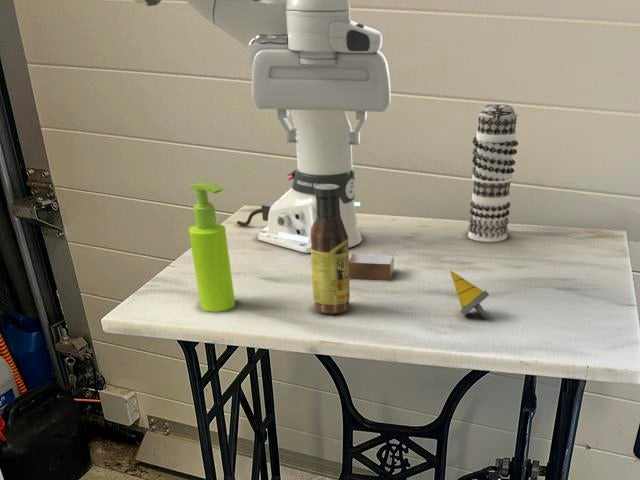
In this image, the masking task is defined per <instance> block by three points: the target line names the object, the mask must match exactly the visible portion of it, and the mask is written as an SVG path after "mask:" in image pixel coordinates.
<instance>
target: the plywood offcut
mask: <svg viewBox="0 0 640 480" xmlns="http://www.w3.org/2000/svg"><path fill="white" fill-rule="evenodd" d="M394 263H395V256H394V255H388V254H387V255H385V254H365V253H364V254H359V253H352V255H351V256H350V257H349V279H357V280H360V279H361V280H378V281H379V280H380V281H391V279H392V277H393V275H394V270H395V269H394V265H395V264H394Z"/></svg>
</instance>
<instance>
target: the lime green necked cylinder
mask: <svg viewBox="0 0 640 480" xmlns="http://www.w3.org/2000/svg"><path fill="white" fill-rule="evenodd" d="M189 186H190V189H192V190H195V192H196V193H195V194H196V201H197V202H196V203H195V204H194V205H193V207H192V208H193V210H192V211H193V215H194V222H195V225H192V226H190V227H189V228H188V235H189V241H190V246H191V254H192V260H193V265H194V272H195V279H196V284H197V291H198V298H199V303H200V308H201V309H202V310H203V311H207V312H211V313H215V312H216V313H218V312H225V311H228V310H231V309H233V308H234V307H235V306H236V302H235V301H236V300H235V293H234V286H233V278H232V271H231V263H230V256H229V245H228V240H227V232H226V227H225V225H223V224H220V223H218V221H217V215H216V208H215V205H214V204H213V203H211V202H210V201H209V197H208V192H210V193H212V194H217V193H220V192H223V191H224V188H223V187H221V186H219V185H217V184H215V183H212V182H203V181H199V182H195V183H191V184H190V185H189Z"/></svg>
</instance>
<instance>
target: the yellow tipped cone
mask: <svg viewBox="0 0 640 480" xmlns="http://www.w3.org/2000/svg"><path fill="white" fill-rule="evenodd" d="M450 276H451V279H452V282H453V285H454V288H455V292H456V294H457V298H458V301H459V304H460V307H461V310H460V312H461V314H462V315H463V316H466V315H467V314H468V313H470V312H471V311H472V310H475V311H476V313H478V314H479V316H481V317H482V318H484V319H487V312H485V309H484V308H483V306H482V305H481V303H482V302H484V300H486V299H487V298H488V297H489V296H490V294H489V292H488V291H487V290H482V289H481V288H479V287H478V286H476V285H475V284H473V283H471V282H470V281H468V280H467V279H465V278H464V277H461V275H459V274H457V273H455V272H454V271H452V270H450Z"/></svg>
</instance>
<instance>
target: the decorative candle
mask: <svg viewBox="0 0 640 480" xmlns="http://www.w3.org/2000/svg"><path fill="white" fill-rule="evenodd" d="M476 115H477V117H478V121H477V122H478V123H477V130H476V136H474V137H473V138H472V144H473V146H474V148H473V149H472V155H473V156H472V159H471V162H472V165H473V167H472V168H471V169H472V170H471V173H472V177H471V178H472V180H474V181H473V191H472V193H471V196H472V197H471V201H470V203H469V205H470V207H471V208H470V209H469V213H470V215H471V216H470V217H469V218H468V222H469V225H468V226H467V227H468V228H467V229H468V235H467V236H468V238H470V239H471V240H474V241H476V242H477V241H479V242H485V243H494V242H495V243H496V242H501V241H504V240H506V239H507V238H508V235H507V232H508V230H509V227H508V225H509V222H510V220H509V218H508V216H509V214H510V210H509V208H510V207H511V203H510V197H511V196H510V195H511V194H510V187H511V181H513V179H514V177H513V175H512V174H513V173H515V169H514V168H513V166H515V165H516V161H515V159H513V156H515V155H516V154H517V153H518V150H517V149H516V148H515V147H517V146H518V145H519V142H518V140H516V137H517V131H516V126H517V119H518V117H519V115H518V113H516V112H515V110H514V108H513V106H511V105H509V104H499V103H498V104H496V103H494V104H486V105H484V106H483V107H482V109H481V110H480V112H479V113H476Z"/></svg>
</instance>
